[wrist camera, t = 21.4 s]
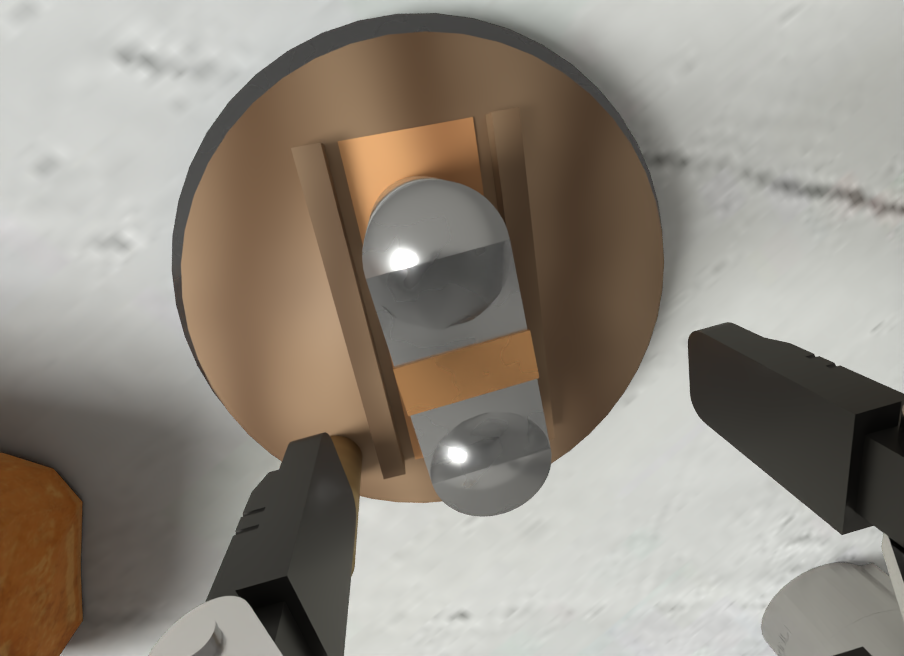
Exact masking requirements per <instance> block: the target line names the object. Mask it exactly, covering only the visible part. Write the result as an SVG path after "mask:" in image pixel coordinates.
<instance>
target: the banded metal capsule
mask: <svg viewBox="0 0 904 656" xmlns="http://www.w3.org/2000/svg"><path fill="white" fill-rule="evenodd" d="M362 262H363V270H364V274H365V278H366V281H367V284H368V287H369V290H370V294H371V297H372V300H373V303H374V306H375V309H376V312H377V315H378V318H379V321H380V324H381V327H382V331H383V334H384V337H385V340H386V343H387V346H388V349H389V352H390V355H391V358H392V361H393V364H394V368H393V371H394V374H395V378H396V381H397V384H398V387H399V390H400V393H401V396H402V399H403V402H404V405H405V408H406V411H407V414H408V416H410V417H411V420H412V423H413V426H414V429H415V432H416V435H417V439H418V442H419V445H420V448H421V451H422V454H423V457H424V460H425V463H426V466H427V469H428V473H429V476H430V479H431V482H432V485H433V487H434V490H435V491H436V493H437V495H438V496H439V497H440V499H441V500H442V501H443V502H444V503H445V504H447V505H448V506H449V507H451V508H452V509H454V510H456V511H458V512H461V513H464V514H467V515H472V516H493V515H499V514H503V513H506V512H509V511H511V510H513V509H515V508H518V507H519V506H521V505H523V504H524V503H526V502H527V501H528V500H529V499H531V498H532V497H533V496H534V495H535V494H536V493H537V492H538V491H539V489H540V488H541V487H542V485H543V484H544V482H545V480H546V478H547V476H548V473H549V470H550V466H551V456H552V455H551V447H550V442H549V437H548V432H547V427H546V422H545V417H544V412H543V406H542V401H541V396H540V391H539V386H538V381H537V379H538V378H539V373H538V368H537V363H536V358H535V353H534V348H533V342H532V337H531V332H530V330H529V329H528V330H527V325H526V319H525V314H524V309H523V304H522V299H521V294H520V289H519V284H518V279H517V273H516V268H515V263H514V258H513V253H512V248H511V243H510V238H509V234H508V231H507V228H506V225H505V223H504V221H503V219H502V217H501V216H500V214H499V212H498V211H497V210H496V208H495V207H494V206H493V205H492V204H491V203H490V202H489V201H488V200H487V199H486V198H485V197H484V196H483V195H481V194H480V193H479V192H477V191H475V190H473V189H472V188H470V187H467V186H465V185H462V184H460V183H455V182H451V181H447V180H442V179H438V178H433V177H429V176H411V177H406V178H403V179H400V180H398V181H396V182H394V183H393V184H391V185H390V186H388V187H387V188H386V189H385V190H384V191H383V192H382V193H381V195H380V196H379V197H378V199H377V200H376V202H375V204H374V206H373V208H372V211H371V214H370V218H369V222H368V226H367V230H366V234H365V238H364V243H363V249H362Z"/></svg>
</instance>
